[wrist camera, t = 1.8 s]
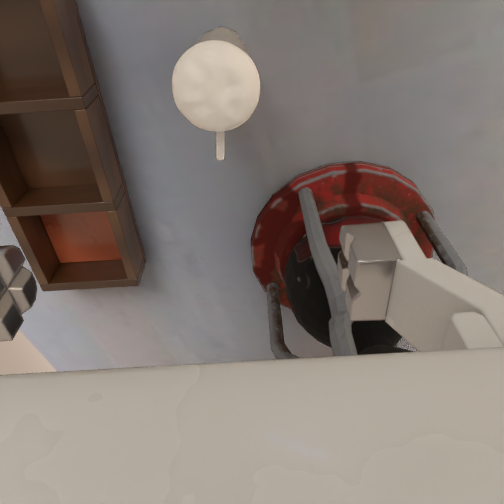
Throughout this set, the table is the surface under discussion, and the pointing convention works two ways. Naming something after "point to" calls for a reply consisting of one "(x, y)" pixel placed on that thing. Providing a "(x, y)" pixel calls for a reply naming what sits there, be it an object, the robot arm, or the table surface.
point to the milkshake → (216, 84)
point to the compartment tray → (61, 154)
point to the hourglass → (334, 250)
